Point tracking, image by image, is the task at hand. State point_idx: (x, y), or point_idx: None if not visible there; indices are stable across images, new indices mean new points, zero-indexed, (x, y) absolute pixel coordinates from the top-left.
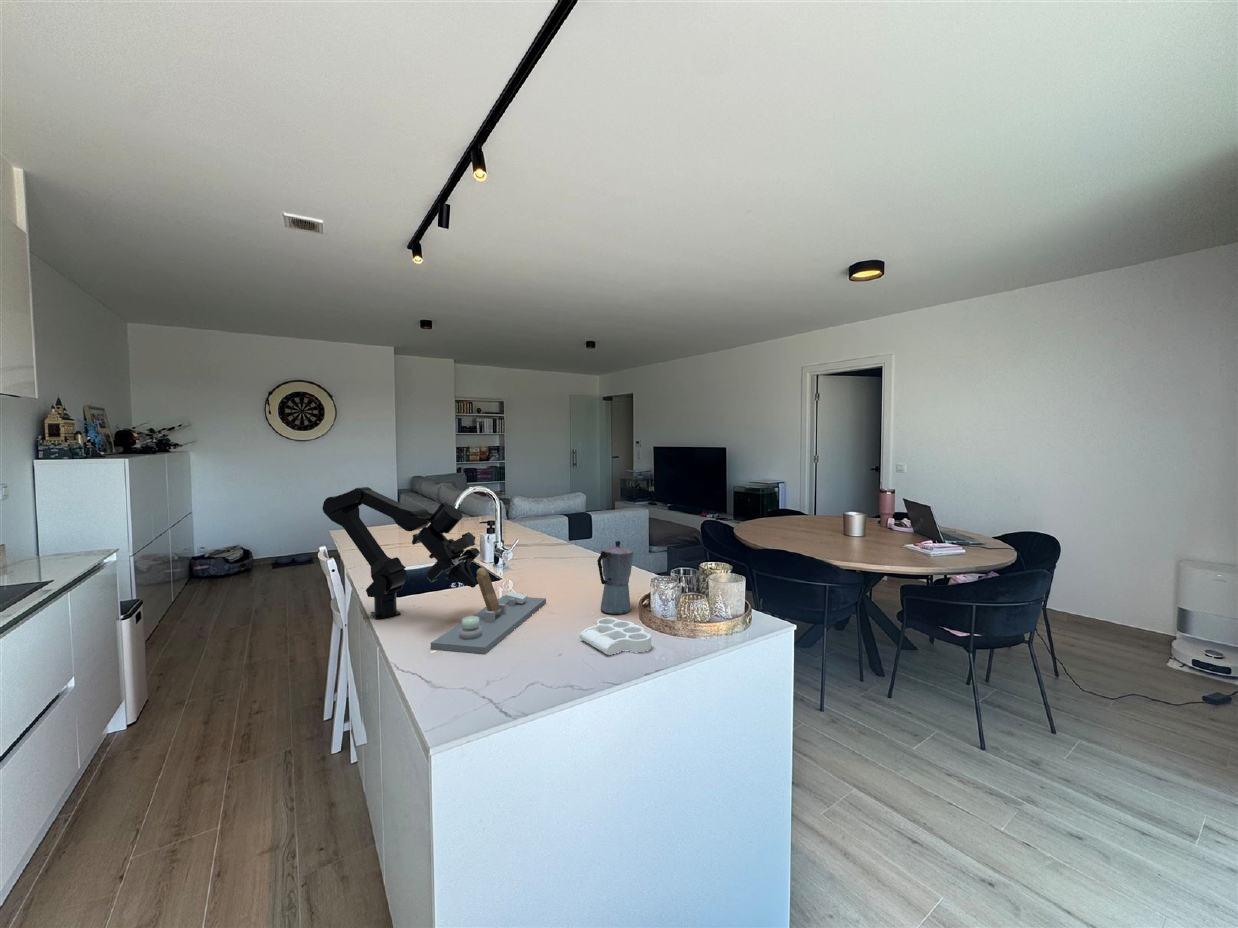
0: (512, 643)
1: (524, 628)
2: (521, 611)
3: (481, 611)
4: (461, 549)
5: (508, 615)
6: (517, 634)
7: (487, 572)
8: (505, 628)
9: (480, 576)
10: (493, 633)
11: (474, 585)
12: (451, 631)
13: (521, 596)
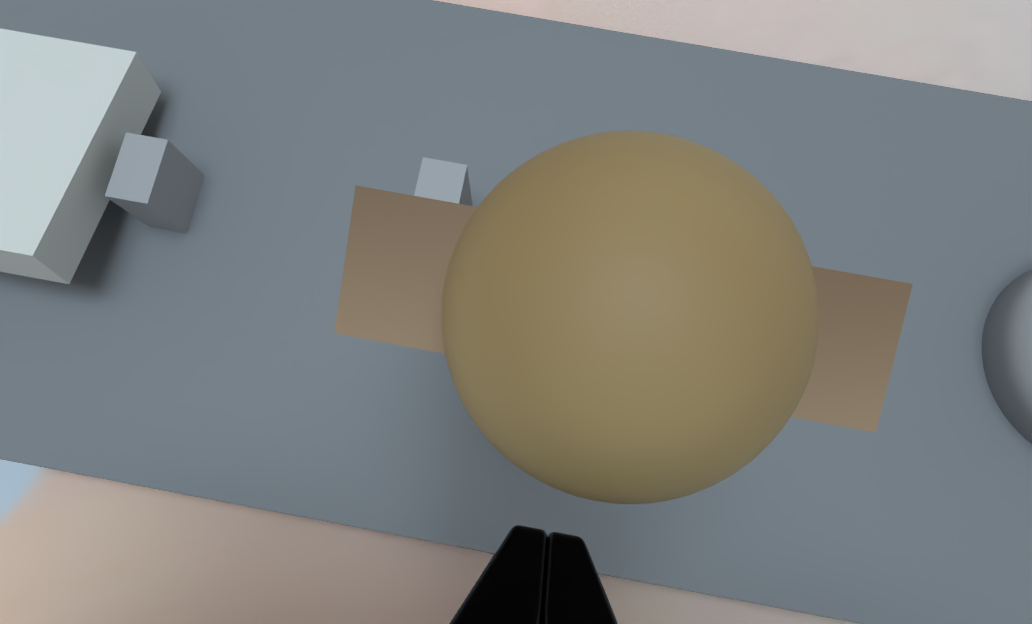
0: (1010, 28)
1: (680, 9)
2: (373, 65)
3: (360, 496)
4: None
5: (496, 161)
6: (821, 33)
7: (395, 196)
8: (857, 99)
9: (887, 279)
10: (997, 168)
11: (579, 555)
12: (1023, 613)
13: (50, 77)
